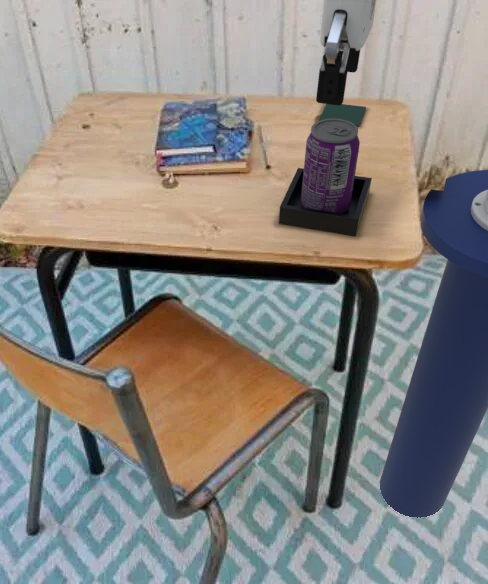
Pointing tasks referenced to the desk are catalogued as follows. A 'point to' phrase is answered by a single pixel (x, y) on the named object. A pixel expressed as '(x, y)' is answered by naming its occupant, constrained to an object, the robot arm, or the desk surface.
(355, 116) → the rubber mat
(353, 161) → the beverage can
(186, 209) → the desk surface
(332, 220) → the black square tray
